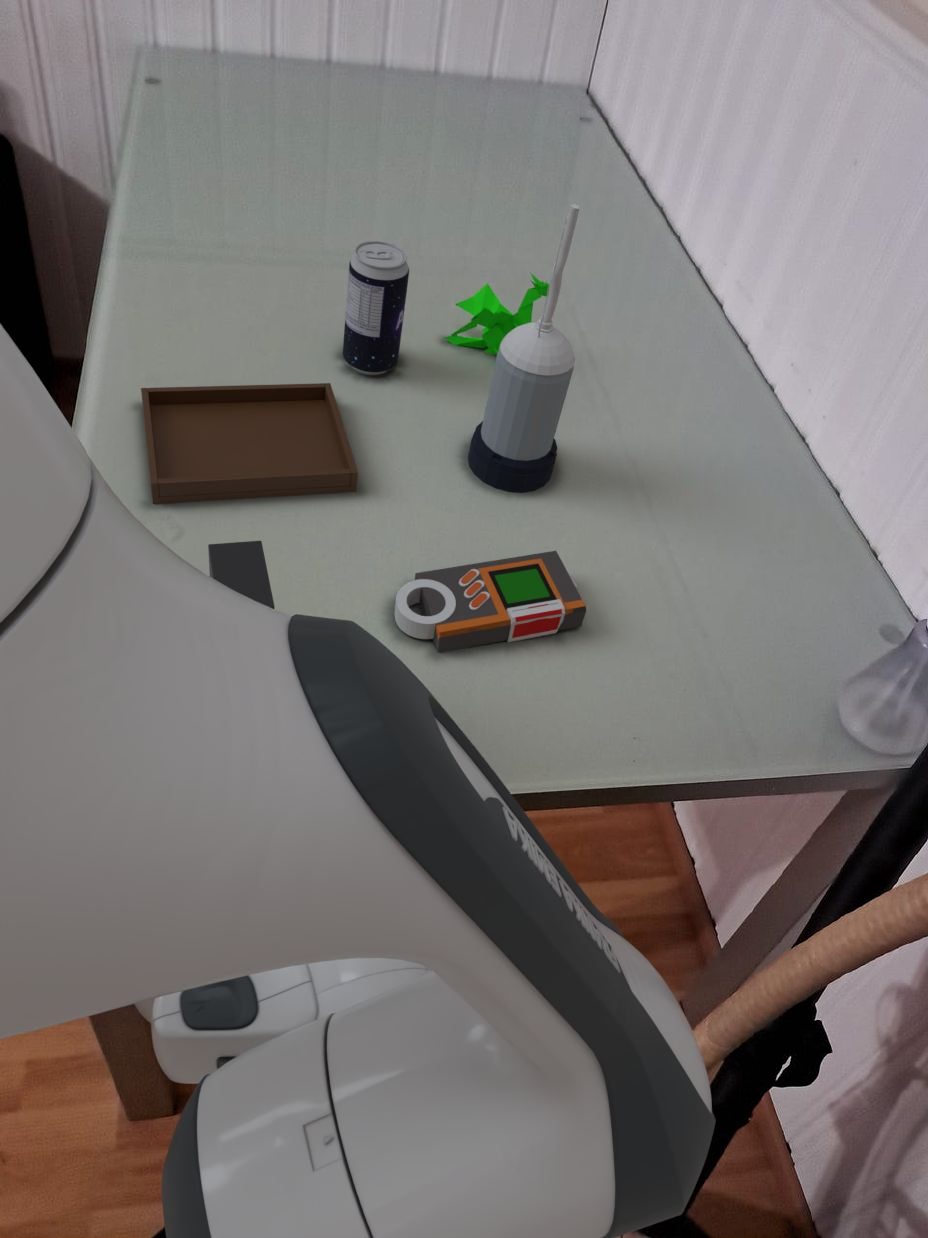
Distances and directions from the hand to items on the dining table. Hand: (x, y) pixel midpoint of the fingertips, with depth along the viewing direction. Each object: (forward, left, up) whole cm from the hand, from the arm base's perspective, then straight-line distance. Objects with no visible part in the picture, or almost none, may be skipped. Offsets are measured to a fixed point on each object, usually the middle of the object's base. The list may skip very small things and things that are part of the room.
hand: (285, 758), depth 53 cm
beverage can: (+17, +53, -11) cm, 57 cm away
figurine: (+31, +55, -11) cm, 64 cm away
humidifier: (+27, +36, -11) cm, 46 cm away
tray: (+3, +40, -11) cm, 42 cm away
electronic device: (+19, +18, -11) cm, 28 cm away
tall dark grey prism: (-1, +11, -11) cm, 15 cm away
